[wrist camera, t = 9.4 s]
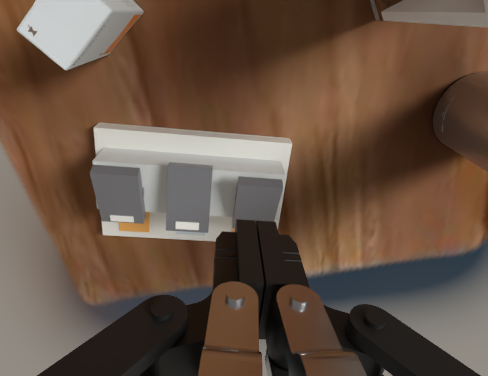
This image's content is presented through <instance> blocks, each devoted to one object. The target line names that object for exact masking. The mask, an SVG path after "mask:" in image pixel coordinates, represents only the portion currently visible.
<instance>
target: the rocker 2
mask: <svg viewBox="0 0 488 376" xmlns="http://www.w3.org/2000/svg"><path fill="white" fill-rule="evenodd" d="M282 191H283V182H282V179H269V178H255V177H242V176H238V183H237V190H236V194H235V204H234V211H233V219H232V228H235V223H236V219H241V220H255V222H256V220H259V221H274V219H275V216H276V212H277V209H278V205H279V201H280V198H281V194H282Z"/></svg>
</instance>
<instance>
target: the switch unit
mask: <svg viewBox="0 0 488 376" xmlns="http://www.w3.org/2000/svg"><path fill="white" fill-rule="evenodd" d="M93 128H94V139H95V151H96V157H95V158H94V160H93V161H92V162H93V165H106V166H120V167H133V168H140V172H141V180H142V187H144V204H145V212H146V217H145V221H144V224H140V223H123V222H106V221H102V230H103V235H111V236H129V237H146V238H164V239H182V240H199V241H216V238H217V237H218V236H219V235H220V233H221V232H222V231H224V232H235V228H232V219H233V211H234V204H235V194H236V190H237V183H238V176H242V177H255V178H269V179H282V182H283V191H282V194H281V198H280V201H279V205H278V209H277V212H276V216H275V219H274V221H275V222H276V226H277V230H278V225H279V219H280V213H281V207H282V202H283V196H284V190H285V184H286V178H287V172H288V166H289V160H290V154H291V148H292V142H291V140H290V138H282V137H270V136H258V135H246V134H234V133H222V132H210V131H198V130H186V129H173V128H161V127H149V126H137V125H125V124H113V123H101V122H99V123H98V124H97V125H96V126H95V127H93ZM169 162H174V163H187V164H200V165H213V171H212V185H211V200H210V215H209V229H208V233H201V232H184V231H167V230H166V207H167V176H168V164H169ZM96 205H97V209H99V208H98V204H97V200H96Z"/></svg>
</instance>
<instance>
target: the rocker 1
mask: <svg viewBox="0 0 488 376" xmlns="http://www.w3.org/2000/svg"><path fill="white" fill-rule="evenodd" d="M90 177H91V181H92V185H93V188H94V192H95V196H96V200H97V204H98V208H99V211H100V215H101V219H102V221H106V222H123V223H140V224H144V221H145V217H146V212H145V204H144V187H142V180H141V172H140V168H133V167H120V166H106V165H93V166H92V168H91V171H90Z"/></svg>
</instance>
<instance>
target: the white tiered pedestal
mask: <svg viewBox="0 0 488 376" xmlns="http://www.w3.org/2000/svg"><path fill="white" fill-rule="evenodd" d="M370 3H371V6H372V9H373V13H374V16H375V20H380V21H395V22H411V23H427V24H442V25H458V26H473V27H488V0H370Z"/></svg>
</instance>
